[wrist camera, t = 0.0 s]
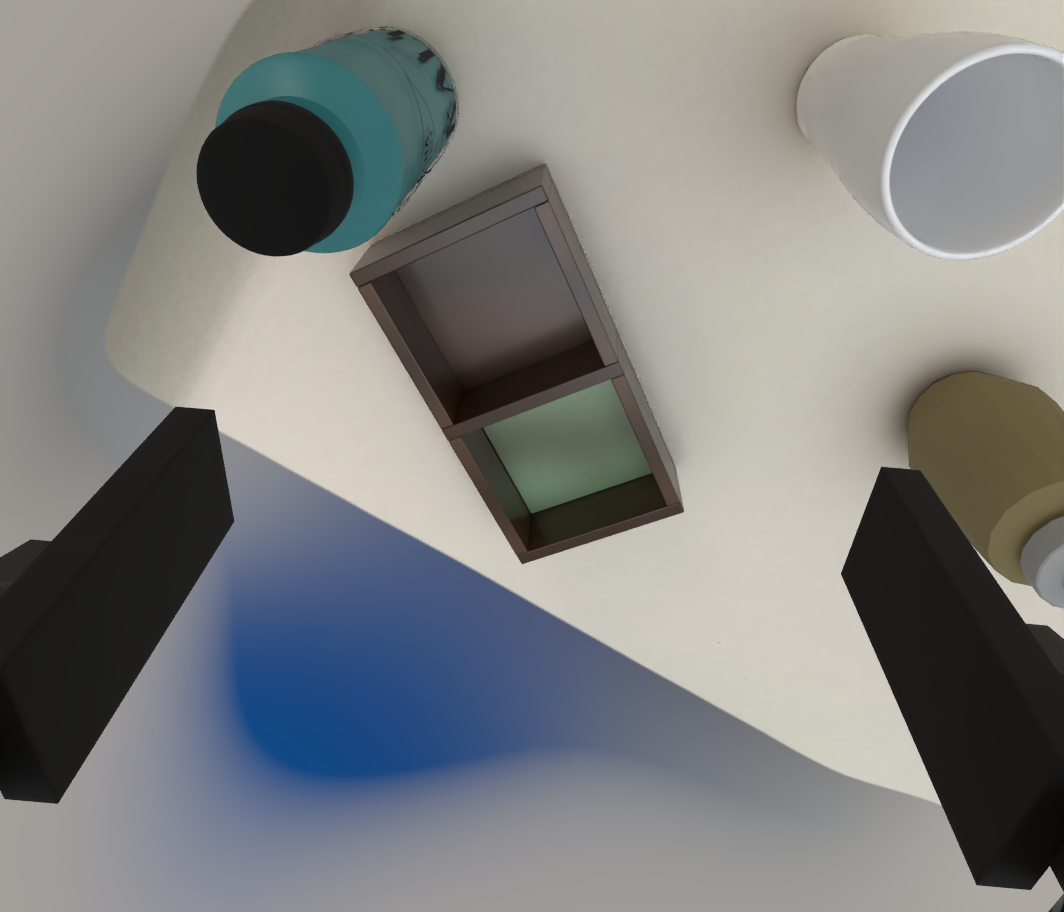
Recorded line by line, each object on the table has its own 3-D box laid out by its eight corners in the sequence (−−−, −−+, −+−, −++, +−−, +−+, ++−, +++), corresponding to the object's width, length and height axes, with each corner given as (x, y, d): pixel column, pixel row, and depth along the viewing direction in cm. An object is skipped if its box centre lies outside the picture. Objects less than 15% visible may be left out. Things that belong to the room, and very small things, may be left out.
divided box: (370, 244, 42) (348, 274, 38) (545, 162, 39) (541, 184, 35) (526, 518, 52) (521, 564, 48) (675, 467, 49) (684, 512, 45)
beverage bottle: (329, 149, 40) (145, 280, 23) (342, 3, 36) (134, 31, 19) (453, 180, 40) (363, 331, 23) (477, 39, 37) (391, 98, 20)
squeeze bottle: (872, 467, 48) (1006, 695, 33) (907, 349, 44) (1082, 550, 29) (1002, 472, 48) (1199, 705, 33) (1051, 354, 44) (1304, 560, 28)
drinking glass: (763, 52, 36) (862, 95, 24) (913, -12, 35) (1105, -1, 22) (793, 189, 39) (895, 292, 27) (932, 137, 38) (1109, 221, 25)
